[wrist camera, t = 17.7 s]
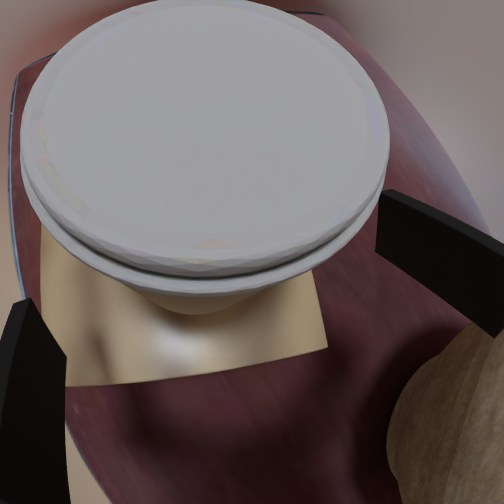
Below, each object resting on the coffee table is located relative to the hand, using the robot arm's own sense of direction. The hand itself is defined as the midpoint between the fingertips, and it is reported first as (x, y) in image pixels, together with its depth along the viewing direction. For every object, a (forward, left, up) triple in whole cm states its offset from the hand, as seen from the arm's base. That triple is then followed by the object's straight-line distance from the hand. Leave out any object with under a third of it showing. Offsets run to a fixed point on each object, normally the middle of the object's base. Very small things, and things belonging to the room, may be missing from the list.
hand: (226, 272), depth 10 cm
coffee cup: (0, +3, -7) cm, 8 cm away
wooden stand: (-2, +3, -15) cm, 15 cm away
